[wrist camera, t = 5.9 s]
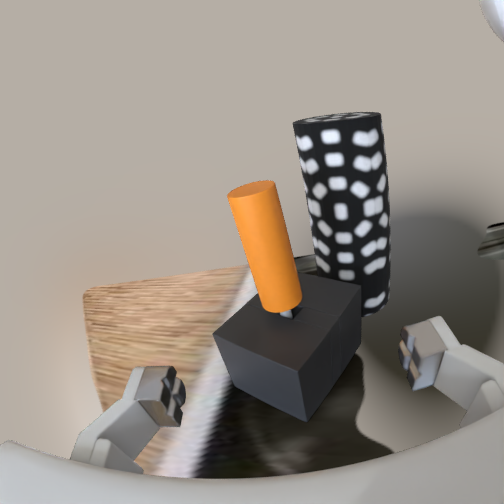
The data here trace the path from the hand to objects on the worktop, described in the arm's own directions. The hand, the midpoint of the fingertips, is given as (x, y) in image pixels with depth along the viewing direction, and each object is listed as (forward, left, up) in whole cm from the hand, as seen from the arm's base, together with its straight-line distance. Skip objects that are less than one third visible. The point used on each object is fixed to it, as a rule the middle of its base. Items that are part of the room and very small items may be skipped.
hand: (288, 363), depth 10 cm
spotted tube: (-21, -7, -14) cm, 27 cm away
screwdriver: (-9, -7, -14) cm, 19 cm away
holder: (-9, -7, -14) cm, 19 cm away
